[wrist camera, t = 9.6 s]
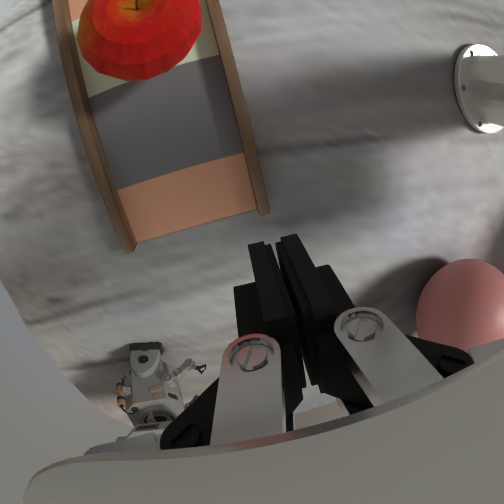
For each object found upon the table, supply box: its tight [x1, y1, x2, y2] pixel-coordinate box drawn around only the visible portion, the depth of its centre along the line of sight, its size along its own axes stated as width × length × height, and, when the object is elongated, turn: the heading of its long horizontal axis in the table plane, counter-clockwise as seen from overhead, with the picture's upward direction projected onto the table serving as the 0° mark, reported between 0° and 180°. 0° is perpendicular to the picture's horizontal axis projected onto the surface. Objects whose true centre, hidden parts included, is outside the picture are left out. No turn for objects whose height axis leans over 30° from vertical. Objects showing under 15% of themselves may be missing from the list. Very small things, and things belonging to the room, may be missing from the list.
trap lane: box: [52, 0, 270, 254], centre depth 24 cm, size 15×31×2 cm, turn 13°
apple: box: [77, 0, 202, 81], centre depth 17 cm, size 9×9×12 cm
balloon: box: [416, 259, 504, 352], centre depth 36 cm, size 15×20×15 cm
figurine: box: [116, 342, 206, 441], centre depth 34 cm, size 9×12×15 cm
